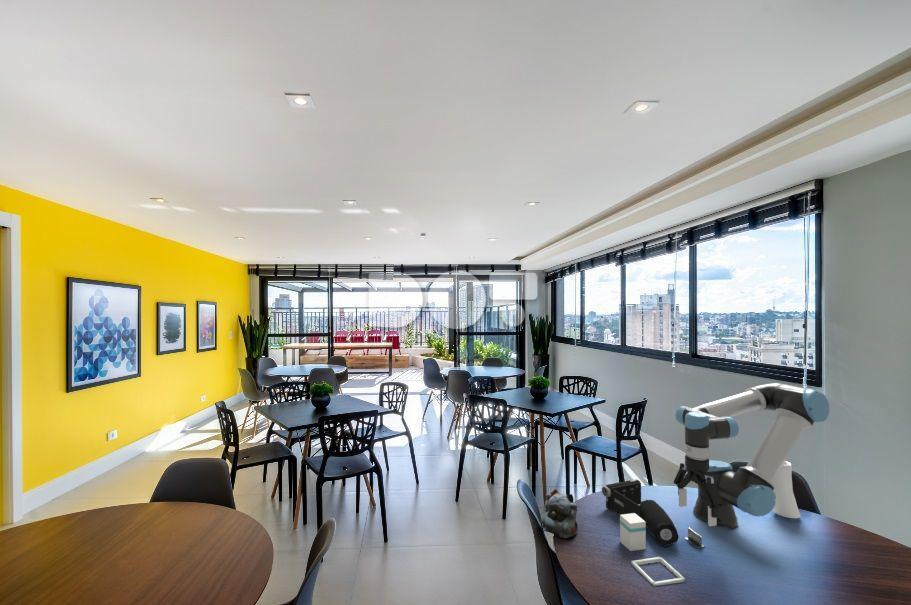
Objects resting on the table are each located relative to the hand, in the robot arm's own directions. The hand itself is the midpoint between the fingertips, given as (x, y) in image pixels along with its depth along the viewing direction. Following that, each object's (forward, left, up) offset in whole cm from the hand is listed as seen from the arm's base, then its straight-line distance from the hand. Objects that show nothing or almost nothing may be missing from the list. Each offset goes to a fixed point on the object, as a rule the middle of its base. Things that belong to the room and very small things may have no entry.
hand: (696, 515), depth 146 cm
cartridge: (+24, -3, -10) cm, 26 cm away
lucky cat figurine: (+45, -18, -10) cm, 50 cm away
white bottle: (-51, -11, -10) cm, 53 cm away
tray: (+26, +12, -10) cm, 30 cm away
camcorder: (+9, -22, -10) cm, 26 cm away
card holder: (+1, 0, -10) cm, 10 cm away
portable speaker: (+13, 0, -11) cm, 17 cm away
